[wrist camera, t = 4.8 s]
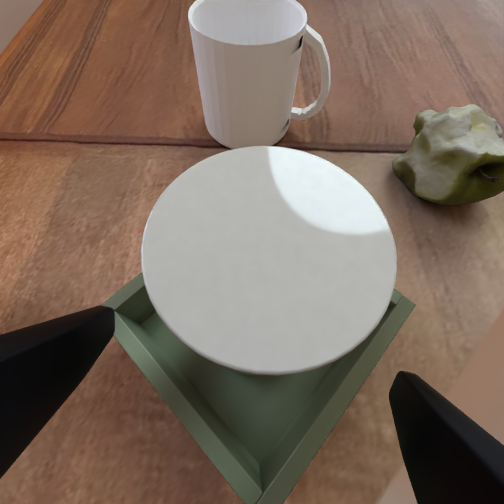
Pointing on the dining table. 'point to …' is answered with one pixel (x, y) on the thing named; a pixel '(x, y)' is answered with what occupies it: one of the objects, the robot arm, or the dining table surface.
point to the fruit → (454, 157)
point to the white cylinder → (268, 260)
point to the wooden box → (248, 397)
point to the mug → (252, 67)
